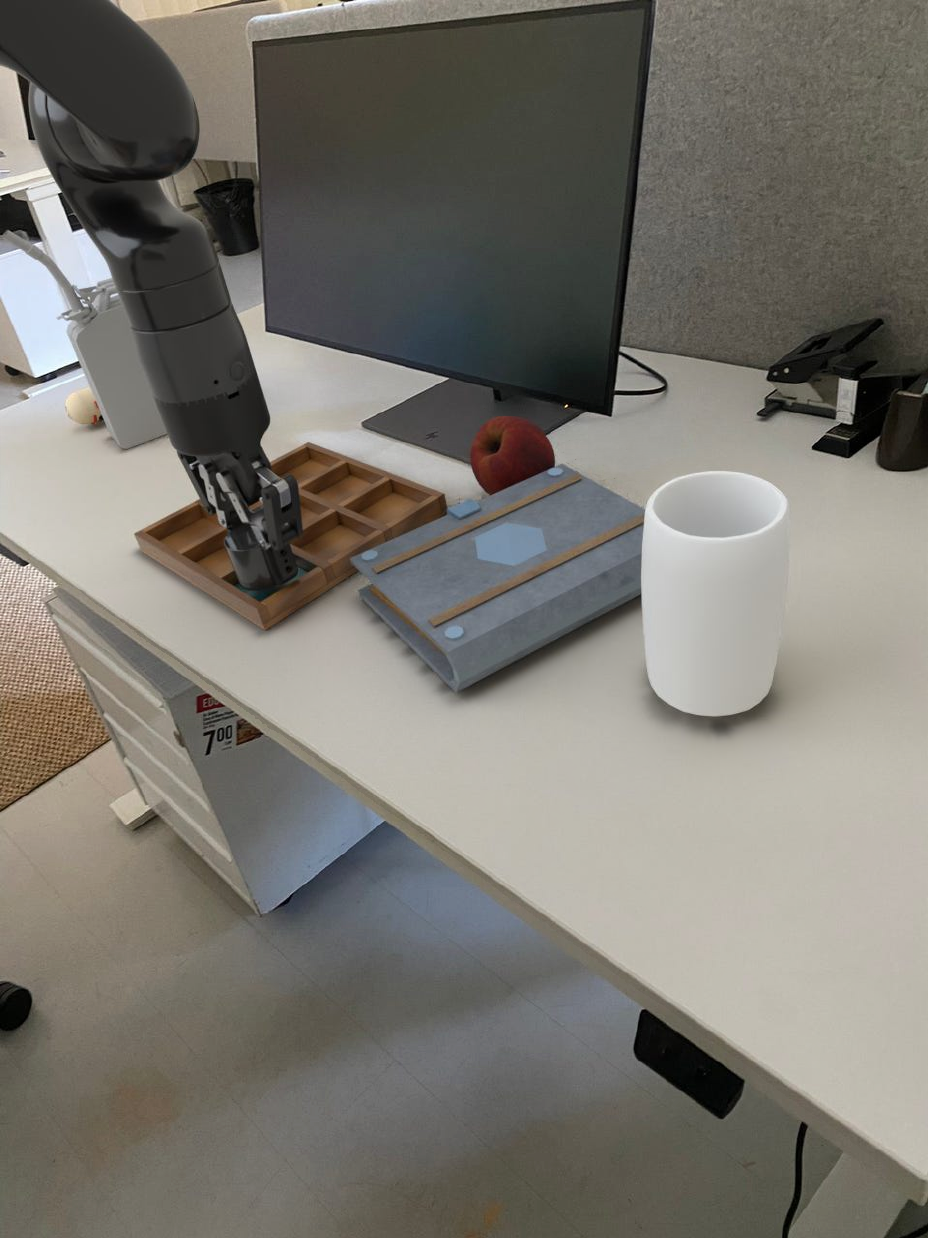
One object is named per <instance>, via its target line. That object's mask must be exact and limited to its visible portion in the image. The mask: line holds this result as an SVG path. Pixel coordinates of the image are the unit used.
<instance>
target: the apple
mask: <svg viewBox="0 0 928 1238" xmlns="http://www.w3.org/2000/svg"><path fill="white" fill-rule="evenodd" d="M469 459H470V460H469V461H470V467H471V471H472V473H473V475H474V477H475V480H476V481H477V483H478V485H479V486H480V488H481V489H482V490H483V491H484V492H485V493H486V494H487V495H488V496H491V495H493V494H495V493H497V492H500V491H502V490H504V489H506V488H508V487H511V486H513V485H515V484H517V483H520V482H522V481H524V480H526V479H529V478H531V477H533V476H535V475H538V474H540V473H542V472H544V471H546V470H549V469H551V468H553V467H555V466H556V455H555V451H554V448H553V445H552V443H551V441H550V440H549V438H548V436H547V435H546V434H545V432H544V431H543V429H542V428H540V427H539V426H538V425H536V424H535V423H534V422H532V421H530V420H529V419H527V418H523V417H520V416H519V417H518V416H513V415H501V416H496V417H493V418H491V419H489V420H487V421H486V422H485V423H484V424H482V426H481V427H480V428H479V430H478V431H477V433H476V435H475V437H474V439H473V441H472V443H471V447H470V454H469Z"/></svg>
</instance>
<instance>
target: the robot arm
mask: <svg viewBox="0 0 928 1238" xmlns="http://www.w3.org/2000/svg"><path fill="white" fill-rule="evenodd" d="M0 67H3V68H6V69H9V70H11V71H12V72H15V73H17V74H18V75H20V76H21V77H23V78H24V79H26V80H27V81H28V82H30V83H29V87H28V88H29V89H28V112H29V118H30V124H31V128H32V132H33V136H34V139H35V142H36V145H37V147H38V150H39V152H40V155H41V157H42V160H43V161H44V164H45V166H46V168H47V169H48V171H49V173H50V175H51V177H52V178H53V180H54V182H55V183H56V186H57V187H58V189H59V191H60V192H61V193H62V195H63V197H64V199H65V201H66V202H67V204H68V205H69V206H70V208H71V210H72V212H73V214H74V216H76V218H77V220H78V221H79V223H80V225H81V226H82V228H83V230H84V231H85V233H86V234H87V236H88V237H89V238H90V240H91V241H92V243H93V244H94V245H95V247H96V248H97V250H98V251H99V253H100V255H101V256H102V258H103V259H104V261H105V262H106V265H107V268H108V270H109V273H110V276H111V277H110V278H112V279H113V282H114V285H115V287H116V290H117V293H116V294H117V295H119V298H120V301H121V303H122V306H123V308H124V311H125V314H126V316H127V319H128V322H129V324H130V327H131V330H132V333H133V337H134V341H135V345H136V350H137V354H138V357H139V361H140V364H141V366H142V369H143V372H144V374H145V377H146V379H147V382H148V385H149V387H150V390H151V392H152V395H153V398H154V400H155V403H156V405H157V408H158V411H159V413H160V416H161V418H162V421H163V424H164V426H165V429H166V431H167V434H166V435H167V436H168V439H169V441H170V444H171V446H172V447H173V449H174V450H175V451H176V454H177V457H178V458H179V460H180V462H181V464H182V467H183V468H184V470H185V472H186V474H187V476H188V478H189V480H190V482H191V484H192V486H193V488H194V490H195V492H196V494H197V496H198V499H200V500H201V502H202V504H203V506H204V508H205V510H206V511H207V512H208V514H209V515H213V514H215V513H216V514H217V517H218V521H219V523H220V524H221V525H222V527H224V528H227V532H228V533H229V532H231V531H232V530H233V529H235V528H237V527H239V526H241V525H243V524H249V525H250V526H251V528H252V530H253V532H254V534H255V536H256V538H257V540H258V542H259V544H260V546H261V547H260V548H261V551H262V554H263V557H264V559H265V562H266V565H267V568H268V571H269V574H270V577H271V580H272V581H273V582H274V583H276V584H277V585H283V584H285V583H286V582H288V581H289V580H291V579H293V578H294V577H296V576H297V574H298V568H297V565H296V562H295V559H294V556H293V552H292V549H291V546H290V542H291V541H293V540H295V539H296V538H299V537H301V536H302V535H303V526H302V517H301V508H300V499H299V489H298V483H297V481H296V479H295V478H294V477H293V476H292V475H291V474H288V475H287V476H285V477H283V478H280V477H278V476H277V475H276V474H274V473H273V472H272V469H271V464H270V462H271V461H270V459H269V458H268V456H267V455H266V453H265V451H264V448H263V447H262V445H261V443H262V439H263V436H264V435H265V433H266V431H268V429H269V427H270V425H271V414H270V410H269V408H268V404H267V401H266V398H265V395H264V392H263V391H264V390H263V389H262V384H261V381H260V378H259V374H258V371H257V368H256V365H255V361H254V358H253V355H252V351H251V349H250V346H249V342H248V338H247V335H246V333H245V330H244V327H243V325H242V323H241V321H240V318H239V316H238V315H237V312H236V309H235V308H234V305H233V302H232V298H231V295H230V292H229V287H228V285H227V283H226V278H225V275H224V272H223V269H222V265H221V262H220V259H219V256H218V253H217V249H216V247H215V244H214V242H213V239H212V237H211V234H210V232H209V230H208V228H207V227H206V225H205V224H204V223H203V222H202V221H201V220H200V219H198V218H197V217H195V216H193V215H191V214H189V213H187V212H184V211H182V210H181V209H178V207H176V206H175V205H174V204H172V202H170V200H169V199H168V197H167V195H166V194H165V191H164V190H163V188H162V186H161V184H160V182H159V181H161V180H165V179H168V178H172V177H174V176H176V175H178V174H179V173H180V172H182V171H183V170H185V168H187V167H188V165H189V164H190V163H191V161H192V160H193V158H194V156H195V155H196V153H197V149H198V147H199V141H200V131H201V130H200V128H201V127H200V118H199V113H198V108H197V105H196V101H195V99H194V95H193V93H192V91H191V88H190V87H189V85H188V82H187V80H186V79H185V77H184V75H183V74H182V71H180V69H179V67H178V66H177V65H176V63H175V61H174V60H173V59H172V58H171V57H170V55H169V54H168V53H167V52H166V51H165V49H164V48H163V47H162V46H161V45H160V44H159V42H158V41H156V40H155V39H154V38H153V37H152V35H151V34H149V33H148V32H147V31H146V30H145V29H144V28H143V27H142V26H140V24H138V23H137V22H136V21H135V20H134V19H132V17H131V16H129V15H128V14H127V13H125V12H124V11H123V10H122V9H121V8H120V7H118V6H117V5H116V4H115V3H114V2H113V1H112V0H0ZM258 501H260V502H261V503H263V504H262V505H260V506H259V507H257V508H255V509H253V510H251V511H250V506H251V505H253V504H255V503H257V502H258ZM263 518H265V520H266V527H267V532H266V530H265V528H264V526H263V524H262V520H263Z"/></svg>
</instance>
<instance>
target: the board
mask: <svg viewBox="0 0 928 1238" xmlns="http://www.w3.org/2000/svg"><path fill="white" fill-rule="evenodd" d="M270 464H271V469H272V472H273V473H274V474H276V475H277V476H278V477H280V478H283V477H285V476H287V475H288V474H291V475H292V476H293V477H294V478H295V479H296V481H297V483H298V489H299V499H300V508H301V517H302V526H303V535H302V536H301V537H299V538H296V539H295V540H293V541H291V542H290V546H291V549H292V552H293V556H294V559H295V562H296V565H297V568H298V574H297V576H296V577H294V578H293V579H291V580H289V581H288V582H286V583H285V584H283V585H276V586H274V587H272V588H269V589H265V590H260V591H250V590H246V589H244V588H242V587H241V586H240V585H239V583H238V580H237V578H236V575H235V572H234V570H233V567H232V564H231V562H230V559H229V556H228V554H227V551H226V548H225V546H224V539H225V537H226V536H227V534H228V532H227V528H224V527H222V525H221V524H220V523H219V521H218V517H217V514H216V513H215V514H213V515H209V514H208V512H207V511H206V510H205V508H204V506H203V504H202V502H201V500H200V498H198V499H196V500H195V501H193V502H191V503H189V504H188V505H185V506H184V507H181V508H180V509H178V510H176V511H173V512H172V513H170V514H168V515H167V516H165V517H163V518H161V519H159V520H157V521H155V522H153V523H151V524H150V525H147V526H146V527H143V528H142V529H140V530H138V531H136V532H134V533H133V535H134V537H135V539H136V541H137V544H138V546H139V549H140V551H141V553H144V555H146V556H148V557H149V558H151V559H152V560H154V561H156V562H157V563H158V564H160V565H162V566H163V567H165V568H167V569H168V570H169V571H170V572H173V573H174V574H176V575H178V576H179V577H181V579H184V580H185V581H187V582H188V583H190V584H192V585H193V586H195V587H196V588H197V589H199V590H201V591H203V592H204V593H206V594H207V595H209V596H211V597H212V598H213V599H215V600H217V601H218V602H220V603H222V604H223V605H225V606H226V607H228V608H229V609H231V610H232V611H234V612H235V613H237V614H239V615H240V616H242V617H243V618H245V619H247V620H248V621H249V622H251V623H253V624H255V625H256V626H257V627H259V628H260V629H262V630H263V631H267V630H268V629H270V628H271V627H273V626H275V625H276V624H277V623H279V622H281V621H282V620H284V619H285V618H287V617H289V616H290V615H292V614H293V613H295V612H296V611H299V609H301V608H302V607H304V606H305V605H308V604H309V603H310V602H312V601H313V600H315V599H317V598H318V597H320V596H321V595H323V594H324V593H326V592H327V591H329V590H330V589H332V588H334V587H335V586H337V585H338V584H340V583H342V582H343V581H345V580H346V579H347V578H349V577H351V576H352V575H354V574H355V573H357V572H359V570H358V569H357V568H356V567H355V566H354V565H353V564H352V563H351V562H350V558H352V557H354V556H356V555H359V554H361V553H363V552H365V551H368V550H370V549H372V548H374V547H377V546H379V545H381V544H383V543H386V542H388V541H390V540H392V539H394V538H397V537H399V536H401V535H403V534H406V533H408V532H410V531H412V530H415V529H417V528H419V527H421V526H424V525H426V524H428V523H430V522H432V521H435V520H437V519H439V518H441V517H444V516H446V515H447V509H448V506H447V500H446V494H445V493H444V492H442V491H439V490H437V489H434V488H431V487H428V486H426V485H423V484H421V483H418V482H415V481H412V480H410V479H407V478H405V477H402V476H400V475H397V474H394V473H392V472H389V471H387V470H384V469H381V468H378V467H376V466H373V465H370V464H369V463H365V462H362V461H360V460H357V459H355V458H352V457H350V456H347V455H344V454H342V453H339V452H336V451H335V450H331V449H328V448H326V447H324V446H320V445H318V444H316V443H312V442H310V441H308V442H306V443H304V444H302V445H299V446H298V447H295V448H294V449H292V450H290V451H288V452H286V453H284V454H283V455H280V456H278V457H277V458H275V459H273V460H271V461H270ZM262 504H263V503H261V502H260V501H258V502H257V503H255V504H253V505H251V506H250V511H251V510H253V509H255V508H257V507H259V506H260V505H262ZM262 521H266V520H265V518H263V520H262Z"/></svg>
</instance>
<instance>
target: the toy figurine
mask: <svg viewBox="0 0 928 1238" xmlns="http://www.w3.org/2000/svg"><path fill="white" fill-rule="evenodd" d="M64 408H65V411H66V414H67V416H68V417H69V418H70V419H71V420H72V421H73V422H75V423H76V424H78V425H79V424H80V425H90V424H91V425H95V424H96V423H99V422H103V421H104V419H103V416H102V414H101V412H100V409H99V407H98V405H97V402H96V400H95V398H94V395H93V393H92V391H91V388H90V386H88V387H85V388H82V389H79V390H77V391H73V392H72V393H70V394H69V395H68V396H67V398H66V400H65V404H64Z"/></svg>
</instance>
